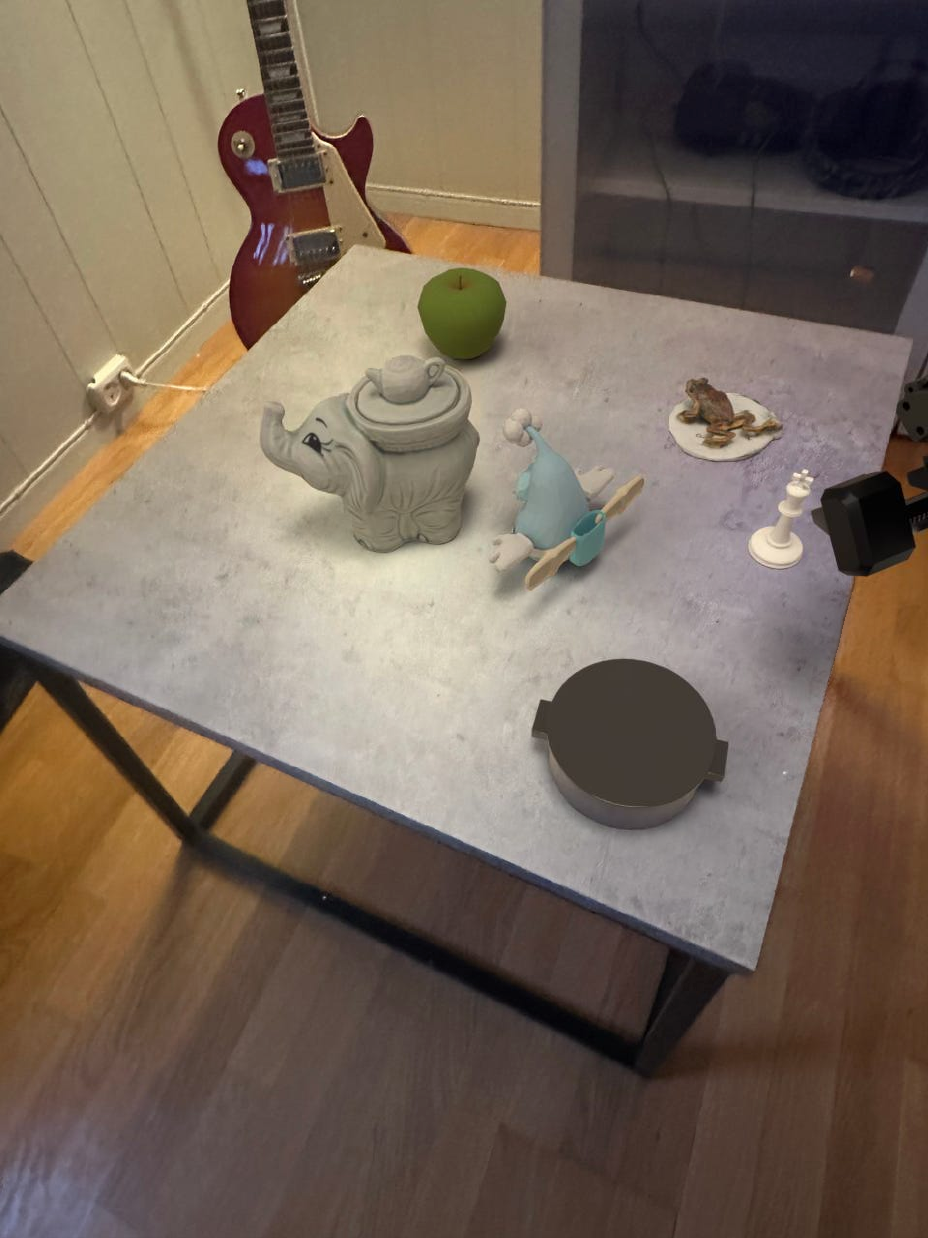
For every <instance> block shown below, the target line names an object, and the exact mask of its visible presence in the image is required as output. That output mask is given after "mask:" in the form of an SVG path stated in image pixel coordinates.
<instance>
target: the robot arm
mask: <svg viewBox="0 0 928 1238" xmlns="http://www.w3.org/2000/svg"><path fill="white" fill-rule="evenodd" d="M903 391H904V395H903V398H902V399H901V400H899V401H898V402H897V404H896V408H895V413H896V415H897V417H898V419H899V421H900V422H901V424H902V426H903V428H904V430H905V431H906V433H907V435H908V437H909V438H910V440H912V441H914V442H916V443H921V442H923V441H926V440H928V374H927V375H924V376H923V377H920V378H918V379H915V380H912V381H909V382H907V383H905V384H904V387H903ZM921 457H922V462H923V466H921V467H918V468H915V469H913V470H909V471H908V472H907V473H906V478H907V482H908V483H907V484H908V485H909V486H910V487H913V488H916V489H920V490H923V492H920V493H919V494H918V493H917V494H916V495H913V496H911V497H908V498H905V495H904V490H903V485H902V483H901V481H900V480H898V479H897V478H896V477H895V476H894V475H893V474H892V473H890V472H889V471H888V470H880V471H874V472H869V473H863V474H860V475H858V476H855V477H852V478H849V479H847V480H845V481H844V480H843V481H842V482H840V483H837V484H834V485H832V486H828V487H826V488H825V489H824V490H823V492H822V495H821V497H820V499H819V500H820V504H821V506H819V507H816V508H814V509H811V511H810V515H811V519H812V523H813V524H814V525H815V526H816V527H817V528H819V529H820V530H821V531H823V532H824V534H826V535H828V536H829V539H830V544H831V547H832V552H833V554H834V559H835V563H836V566H837V570H838V572H839V573H842V574H843V575H845V576H847V577H865V578H866V577H870V576H872V575H874V574H878V573H879V572H882V571H885V570H887V569H889V568H891V567H894V566H896V565H899V564H901V563H904V562H906V561H908V560H909V559H910V557H911V556H912V554H913V552H914V551H915V549H916V548H917V544H916V541H915V536H914V535H917V534H918V533H922V532H924V531H926V530H928V454H925V455H923V456H921Z"/></svg>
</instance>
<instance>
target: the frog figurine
mask: <svg viewBox="0 0 928 1238" xmlns="http://www.w3.org/2000/svg"><path fill="white" fill-rule="evenodd" d="M684 392H685V393H686V394H687V395H688V397H687V398H685V399H682V400H681V401H680V402H679V403H677V404H676V405H675V406H674V407H673V409H672V410H671V412H670V413H669V416H668V428H667V429H668V431H669V433H670V434H671V435H672V437H673V438H674V440H675V443H676V444H677V445H678V446H679V448H680V449H681V450H682V451H683V452H684V454H687V455H689V456H691V457H694V458H697V459H701V460H703V459H704V460H707V461H709V462H711V461H714V462H737V461H742V460H746V459H749V458H751V457H754V456H755V455H757V454H759V453H760V452H762V450H764V449H765V448H766V447H767V446H768V445H769V444H770V442H772V441H774V440H775V441H776V440H779V439H781V438H782V436H783V429H784V424H783V422H782V421H780V420H779V419H778V417H777V416H776V414H775V412H774V411H773V410H769V409H768V408H767V407H766V406H765V405H763V404H762V403H761V402H759V401H758V400H757V399H755V398H751V397H749V396H746V394H743V393H735V392H726V391H723V390H717V389H716V388H715V387H713V385H712V384H710V383H709V379H708V378H706V377H701V378H699V379H694V378H690V379H689V380H687V382H686V385H685V390H684Z"/></svg>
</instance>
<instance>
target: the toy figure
mask: <svg viewBox="0 0 928 1238" xmlns="http://www.w3.org/2000/svg"><path fill="white" fill-rule="evenodd" d="M542 428H543V423H542V418H541V417H540V416H538V414H532V413H531V411H529V410H528V409H527V408H518V409H515V410H514V412H513V413H511V416H510V417H508V418H507V419H506V420H505V421H504V422H503V425H502V435H503V437H504V438H505V440H506V441H507V442H508V443H511V444H515V445H516V446H518V447H520V448H525V447H528V446H530V445H531V444H532V443H533V442H534V444H535V448H536V457H535V459H534V461H533V462H531V463H530V464H529V465H528V467H527V469H525V470H523V471H522V472H521V473H520V474H519V475H518V476H517V479H516V482H515V486H514V490H513V491H512V492H511V493H512V495H515V499H516V500H518V501H520V502H524V503H523V505H522V506H521V508H520V509H519V511H518V513H517V515H516V519H515V521H514V524H512V525H513V526H512V529H511V533H503V534H497V535H494V536H493V537H492V538H491V543H492V545H493V546H497V545H498V547H497V548H496V549H495V550H494V551H493V552H492V553H491V554H490V555H489V558H488V561H489V563H490V564H494V569H495V570H496V571H498V572H501V573H503V572H506V571H508V570H510V569H511V568H513V567H514V566H516V565H517V564H518V563H520V562H521V561H523V560H525V559H526V558H528V557H529V558H531V559H532V560H534V561H536V563H535V565H533V566H532V567H531V568H530V569H529V571H528V573H527V574H526V576H525V579H524V585H525V589H526V590H527V591H533V590H534V589H536V588H537V587H538V586H540V585H541V584H542V583H543V582H545V581H546V580H547V579H549V577H553V576H554V575H555V574H556V573H557V572H558V569H559V568H560V566H562V564H563V563H564V562H567V561H568V560H569V561H570V562H571V563H572V564H574V565H575V566H578V567H582V566H585V565H587V564H589V563H590V562H591V561H592V560H593V559H595V558H596V556H598V554H599V553H600V552H601V550H602V548H603V545H604V542H605V534H606V524H607V523H608V522H609V521H611V520H612V519H613V518H615V517H616V516H618V515H622V514H623V513H625V512H626V509H627V507H628V506H630V505H631V503H632V502H633V501H635V499H636V498H637V497H638V496H639V495H640V494H641V492H642V490H643V488H644V484H645V477H644V476H643V475H641V474H640V475H637V476H635V477H634V478H632V479H631V480H630V481H629V482H627V483H625V485H623V486H620V487H618V488H617V489H616V490H615V492H614V495H613V496H612V498H610V499H609V501H608V502H607V503H605V505H604V507H602V508H601V510H600V509H594V510H591V511H590V508H589V503H590V502H591V501H593V500H594V499H596V498H597V497H598V496H600V494H601V493H602V492H603V490H605V488H606V487H607V486H608V485H609V484H610V483H611V481H612V480H613V479H614V478H615V474H616V473H615V472H614V470H613V469H612V468H609V467H608V468H604V469H603V466H602V465H601V464H598V465H596V466H595V467H593V468H592V469H590V470H588V471H585V472H584V473H582V474H581V470H580V469H579V468H575V469H574V468H573V467H572V465H571V464H570V463H569V461H568V460H567V459H566V458H565V457H564V456H563V455H561V454H560V453H559V452H557V451H556V450H554V449H553V448H552V447H551V446H550V445H549V444H548V442H547V441H546V440H545V439H544V437H543V436H542V434H540V433H539V432H540V431H541V430H542Z"/></svg>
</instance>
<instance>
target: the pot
mask: <svg viewBox="0 0 928 1238" xmlns="http://www.w3.org/2000/svg"><path fill="white" fill-rule="evenodd" d="M530 731H531V733H530V734H531V738H535V739H539V740H542V741H547V745H548V761H549V768H550V772H551V777H552V778H553V781H554V783H555V785H556V787H557V789H558V790H559V792H560V793H561V795H562V796H563V797H564V799H565V801H567V802H568V803H569V805H571V806H572V807H573V808H574V809H575V811H578V812H579V813H580V814H582V815H583V816H585V817H586V818H588V819H590V820H591V821H593V822H596V823H598V824H600V825H602V826H603V825H604V826H606V827H610V828H614V829H615V828H616V829H620V830H643V829H649V828H653V827H656V826H659V825H662V824H664V823H666V822H668V821H670V820H671V819H673V818H674V817H676V816H677V815H679V814H680V813H681V812H682V811H683V810H684V809H685V808H686V807H687V806H688V805H689V803H690V802H691V801H692V799H693V797H694V796H695V793H696V791H697V789H698V787H699V786H700V785H701V784H702V782H703V781H704V780H705V779H706V780H710V781H715V782H719V783H722V782H723V781H724V779H725V777H726V769H727V759H728V752H729V751H728V750H729V741H728V740H727V741H726V740H723V739H718V737H717V729H716V724H715V721H714V717H713V714H712V712H711V710H710V708H709V706H708V704H707V703H706V701H705V699H704V698H703V696H702V695H701V694H700V693H699V691H698V690H697V689H696V688H695V687H694V686H693V685H692V684H691V683H689V682H688V681H687V680H686V679H685V678H683V677H682V676H681V675H679V674H678V673H676V672H675V671H672V670H670V669H669V668H667V667H665V666H662V665H659V664H658V663H654V662H650V661H647V660H641V659H637V658H636V659H635V658H612V659H606V660H601V661H598V662H594V663H592V664H589V665H587V666H584V667H582V668H581V669H579V670H578V671H576V672H575V673H573V674H571V676H570V677H568V678H567V679H566V680H565V681H564V682H563V683H562V684H561V685H560V687H559V688H558V689H557V691H556V692H555V694H554V695H553V697H552V699H551V700H547V699H542V698H540V699H539V702H538V705H537V710H536V713H535V717H534V720H533V723H532V727H531V730H530Z"/></svg>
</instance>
